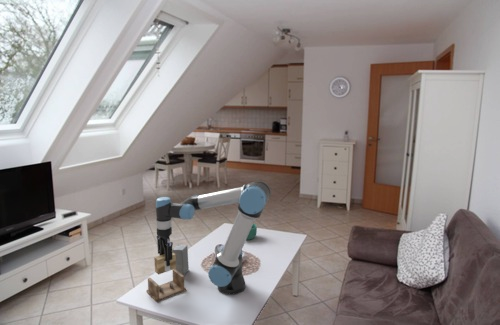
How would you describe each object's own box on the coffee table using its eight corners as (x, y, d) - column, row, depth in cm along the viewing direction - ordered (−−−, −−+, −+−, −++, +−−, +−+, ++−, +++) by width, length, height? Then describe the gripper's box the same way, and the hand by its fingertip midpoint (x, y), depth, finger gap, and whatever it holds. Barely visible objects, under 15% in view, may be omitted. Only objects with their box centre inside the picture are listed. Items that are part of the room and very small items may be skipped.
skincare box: (183, 276, 195) (183, 250, 192) (172, 275, 196) (171, 249, 193) (189, 269, 203) (188, 244, 200) (178, 268, 204) (177, 243, 202)
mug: (245, 233, 259) (245, 221, 258) (259, 236, 253) (259, 224, 252) (233, 240, 245) (233, 228, 244) (248, 244, 239) (248, 231, 237)
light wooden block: (175, 268, 179) (175, 254, 178) (158, 274, 173) (157, 260, 171) (172, 265, 182) (171, 251, 181) (154, 271, 176) (154, 257, 174)
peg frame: (186, 290, 181) (185, 276, 179) (156, 302, 170) (156, 287, 168) (175, 281, 190) (174, 268, 188) (146, 291, 179) (145, 278, 177)
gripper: (178, 230, 169) (179, 273, 174) (163, 221, 182) (164, 261, 186) (165, 234, 164) (166, 278, 169) (150, 224, 177) (151, 265, 181)
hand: (165, 269), depth 177 cm, fingers closed on light wooden block, 4 cm apart
